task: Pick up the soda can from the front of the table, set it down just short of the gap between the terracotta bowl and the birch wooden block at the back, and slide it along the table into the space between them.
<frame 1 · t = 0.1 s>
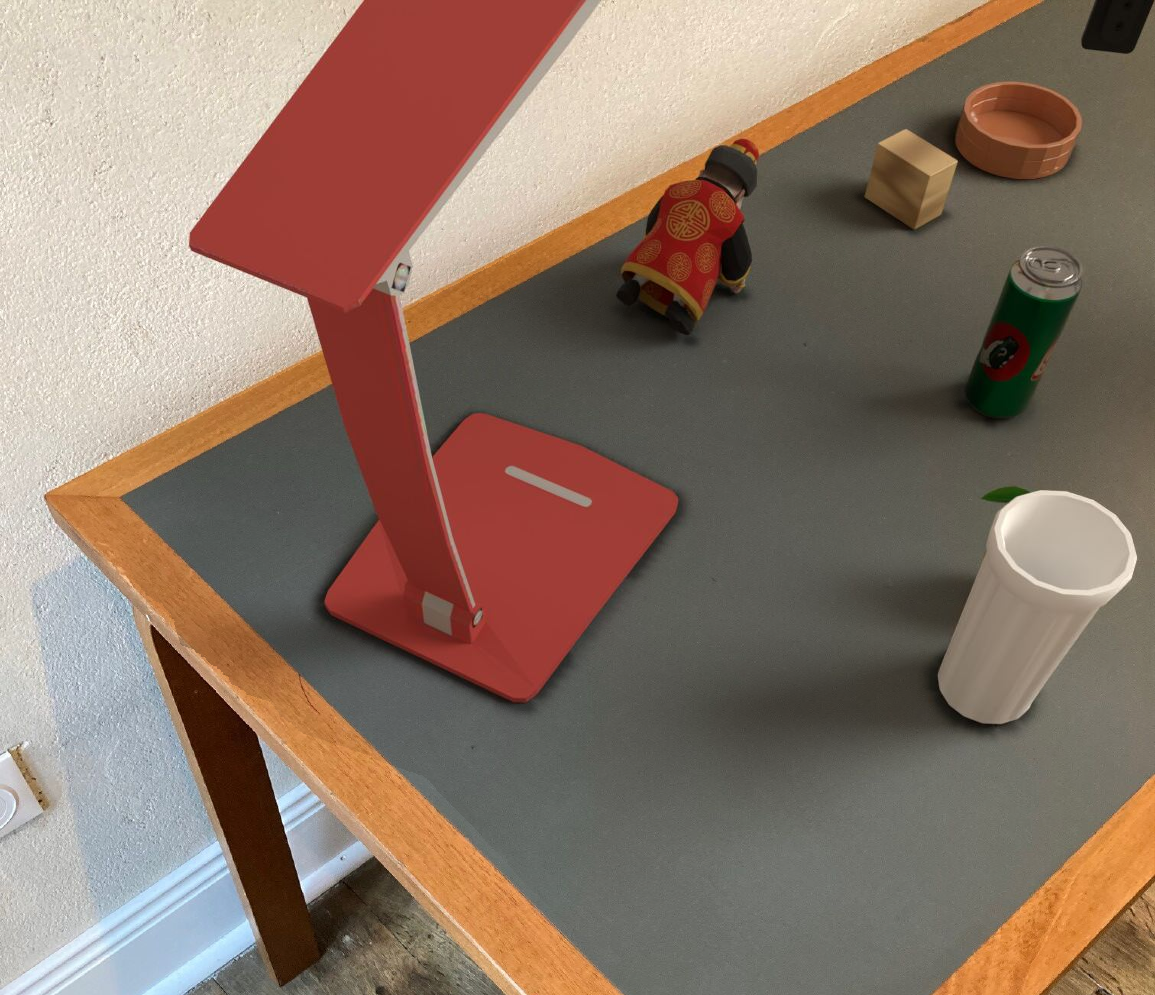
hand: (1101, 8, 75), 25 cm above the table, tool pointing down, fingers open, 9 cm apart
cup: (982, 689, 77), on the table
terracotta bowl: (1011, 145, 109), on the table
desk lamp: (523, 527, 84), on the table
lemon: (1003, 601, 81), on the table
soda can: (994, 402, 92), on the table
figurine: (690, 293, 98), on the table
wooden block: (902, 205, 104), on the table
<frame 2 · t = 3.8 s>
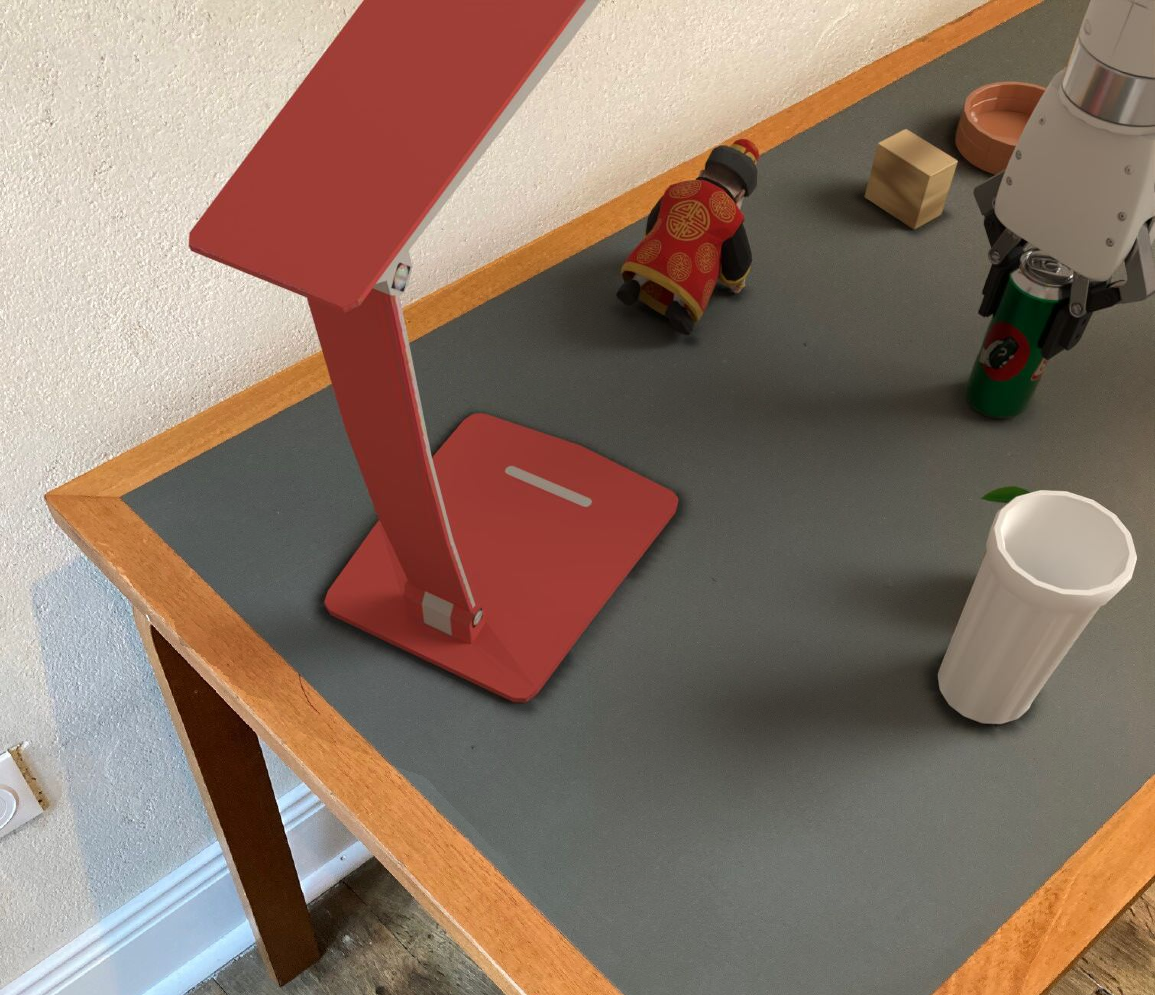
hand: (1025, 327, 86), 7 cm above the table, tool pointing down, fingers closed on soda can, 5 cm apart
soda can: (994, 402, 92), on the table, touching gripper
everything else where it was.
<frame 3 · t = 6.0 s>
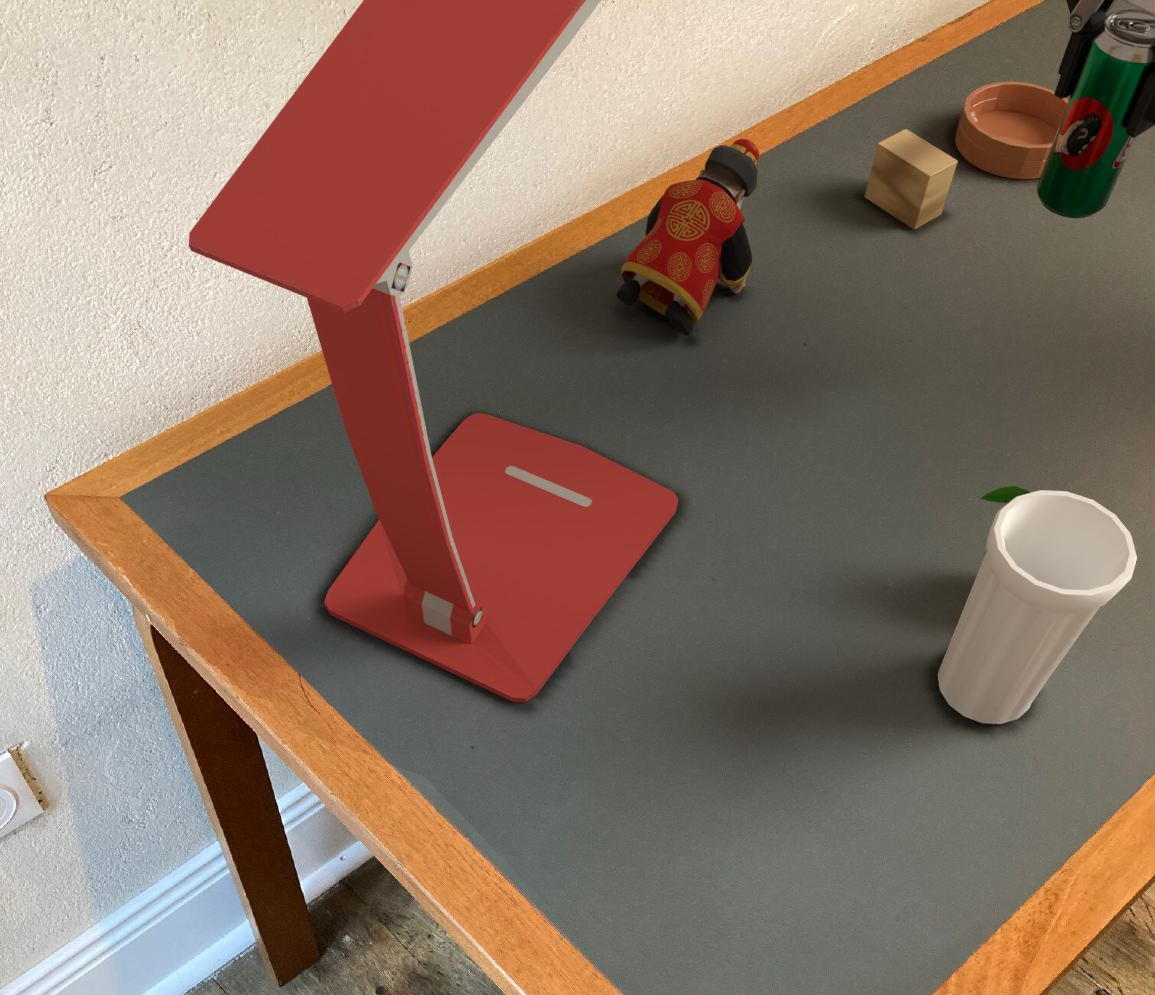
hand: (1106, 106, 79), 19 cm above the table, tool pointing down, fingers closed on soda can, 5 cm apart
soda can: (1068, 203, 85), point 12 cm above the table, touching gripper
everything else where it was.
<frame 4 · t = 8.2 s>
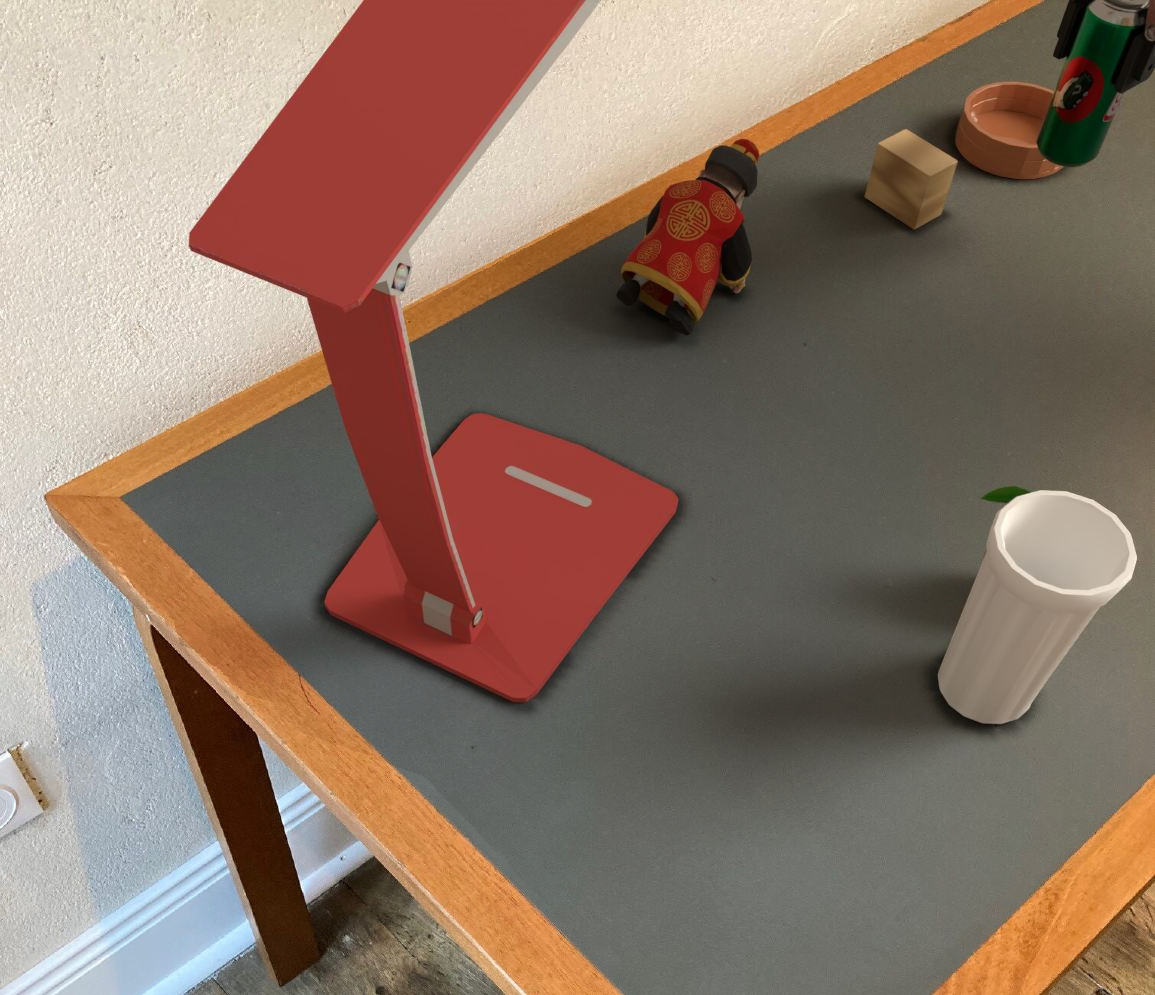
hand: (1098, 66, 90), 14 cm above the table, tool pointing down, fingers closed on soda can, 5 cm apart
soda can: (1063, 154, 96), point 7 cm above the table, touching gripper
everything else where it was.
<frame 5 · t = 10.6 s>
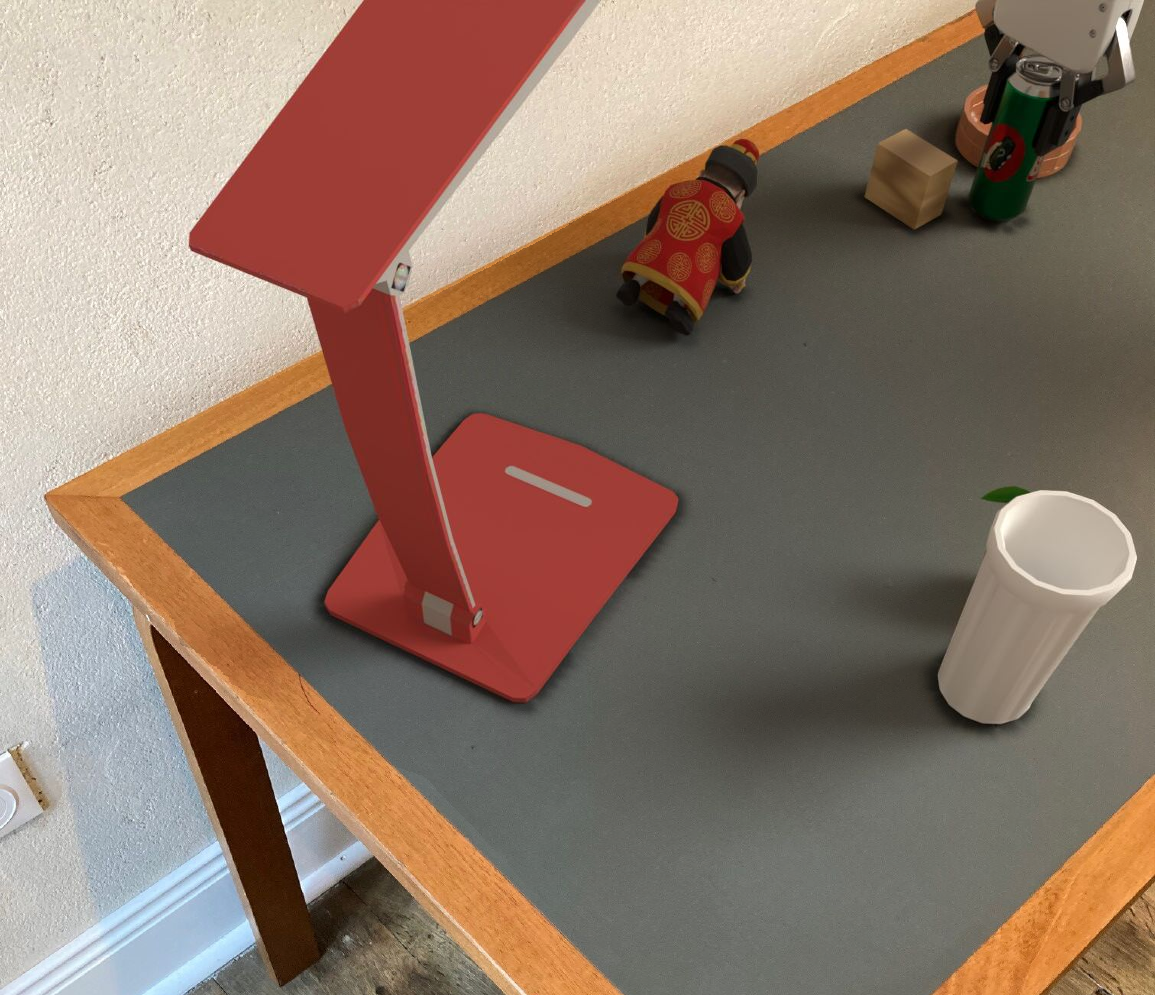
hand: (1021, 131, 98), 7 cm above the table, tool pointing down, fingers closed on soda can, 5 cm apart
soda can: (994, 209, 104), on the table, touching gripper
everything else where it was.
when the fingers open (7 cm above the table, at t = 12.6 s): soda can stays where it is, on the table.
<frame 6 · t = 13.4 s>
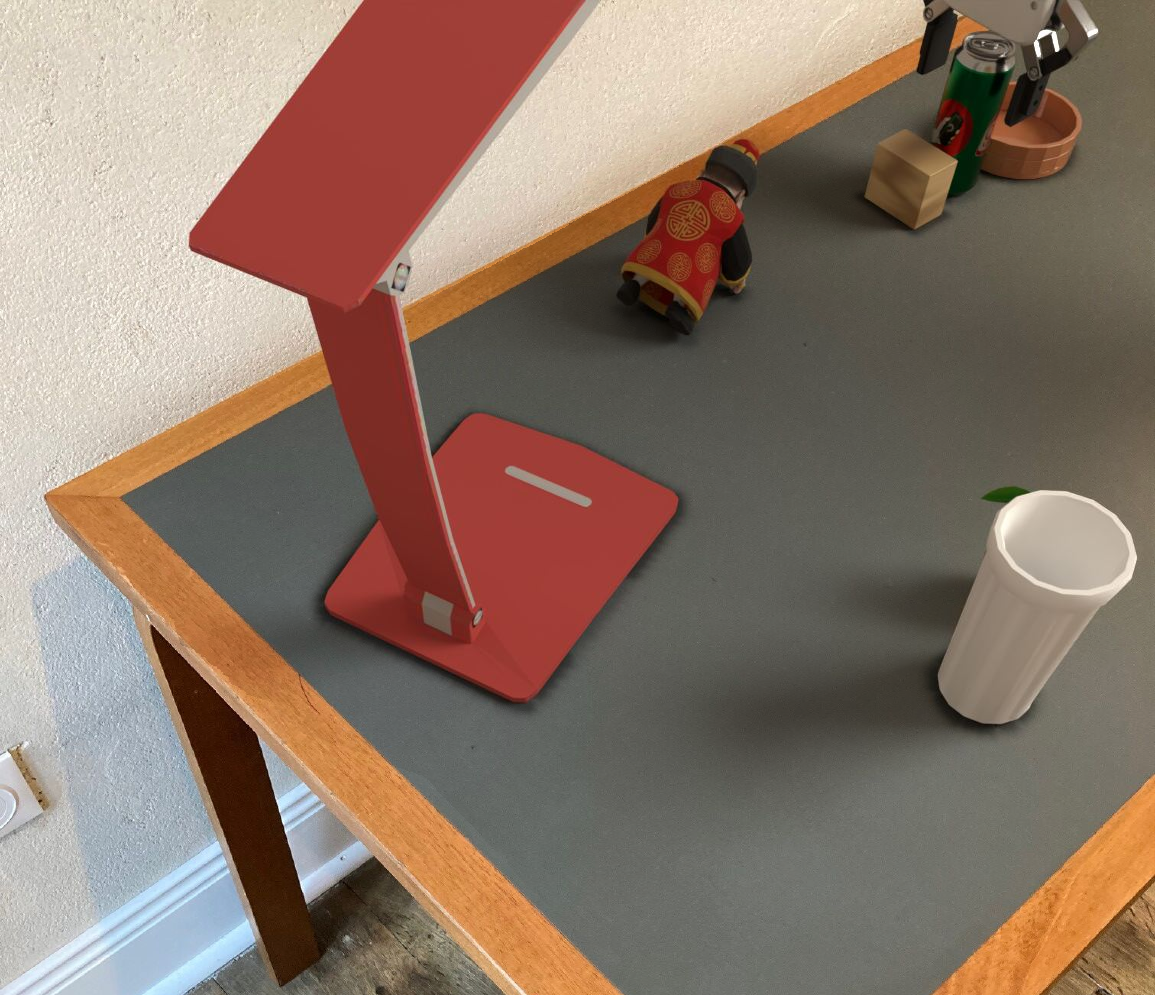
hand: (973, 94, 99), 8 cm above the table, tool pointing down, fingers open, 9 cm apart
soda can: (946, 184, 106), on the table
everything else where it was.
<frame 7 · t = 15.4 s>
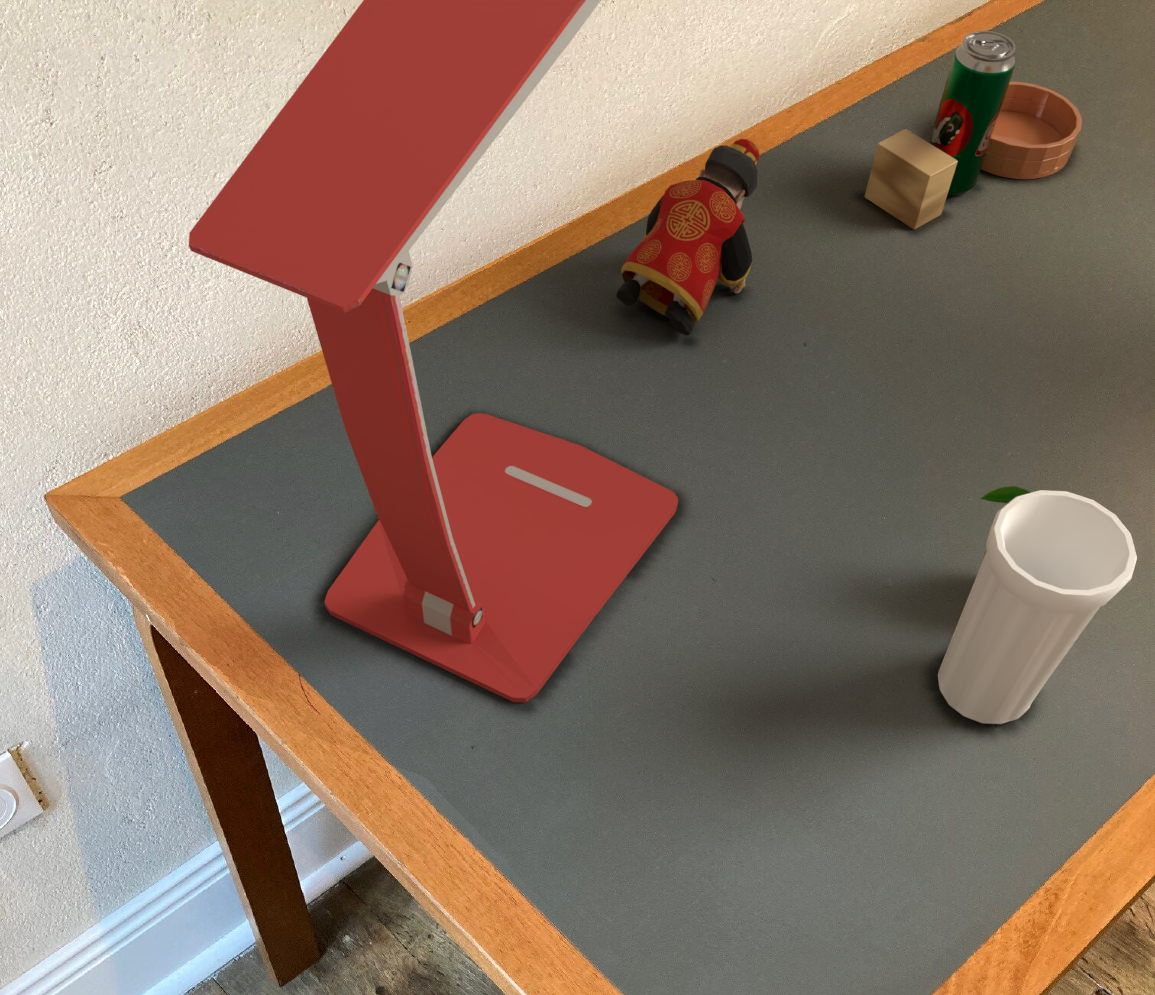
nothing on the table moved.
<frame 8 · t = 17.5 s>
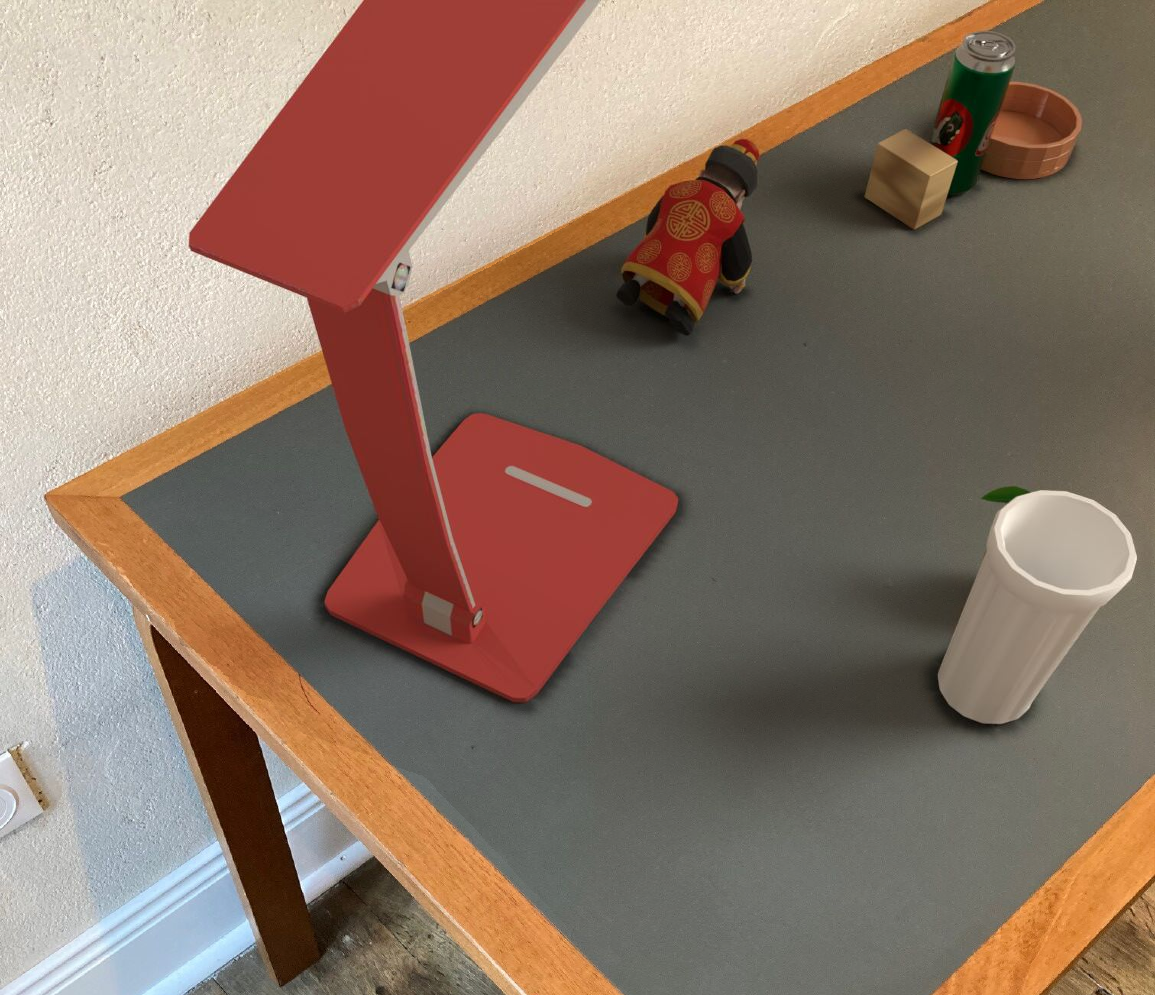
nothing on the table moved.
at the end: soda can 0.1 cm from the target spot on the table beside the terracotta bowl, on the table; soda can 0.1 cm from the target spot on the table beside the wooden block, on the table; soda can tilted 0° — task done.
